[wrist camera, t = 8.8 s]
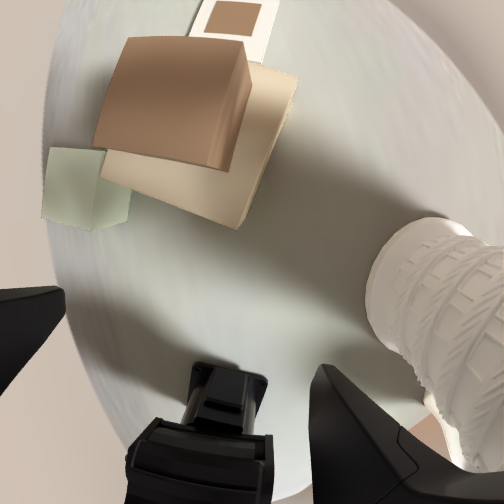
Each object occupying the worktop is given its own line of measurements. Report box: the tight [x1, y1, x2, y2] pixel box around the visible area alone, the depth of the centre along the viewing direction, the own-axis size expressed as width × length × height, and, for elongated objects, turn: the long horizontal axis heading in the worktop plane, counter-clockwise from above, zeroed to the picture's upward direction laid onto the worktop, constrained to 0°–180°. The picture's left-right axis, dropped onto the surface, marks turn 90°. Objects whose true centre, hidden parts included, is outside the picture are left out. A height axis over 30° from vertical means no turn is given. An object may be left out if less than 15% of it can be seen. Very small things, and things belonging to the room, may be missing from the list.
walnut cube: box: [92, 36, 252, 173], centre depth 11 cm, size 5×5×5 cm
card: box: [188, 0, 280, 65], centre depth 15 cm, size 8×6×1 cm
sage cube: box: [41, 147, 132, 232], centre depth 17 cm, size 5×5×5 cm
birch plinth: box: [99, 61, 299, 230], centre depth 16 cm, size 9×9×5 cm
